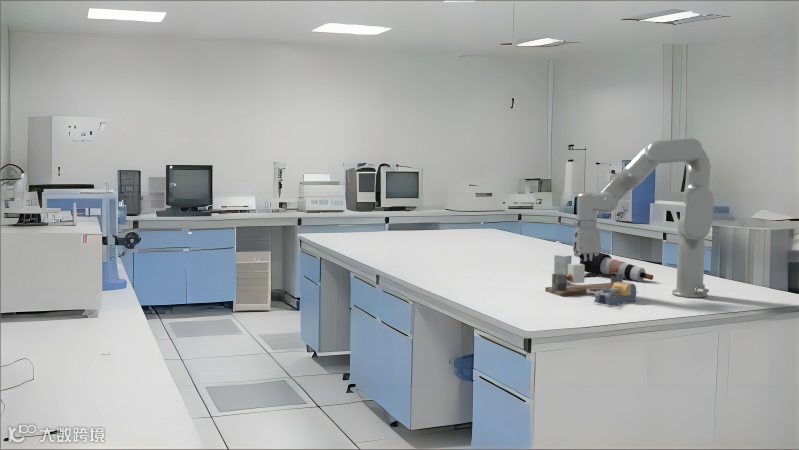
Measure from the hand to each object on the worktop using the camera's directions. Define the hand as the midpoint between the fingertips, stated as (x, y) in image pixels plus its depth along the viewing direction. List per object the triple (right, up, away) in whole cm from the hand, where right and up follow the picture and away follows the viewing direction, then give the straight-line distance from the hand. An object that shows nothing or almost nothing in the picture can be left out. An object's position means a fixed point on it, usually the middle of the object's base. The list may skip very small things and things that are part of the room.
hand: (586, 270), depth 305 cm
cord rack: (0, -8, +1) cm, 8 cm away
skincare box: (-5, -7, +19) cm, 21 cm away
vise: (+5, -11, -21) cm, 24 cm away
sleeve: (-4, -4, -1) cm, 6 cm away
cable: (+22, -5, +34) cm, 41 cm away
